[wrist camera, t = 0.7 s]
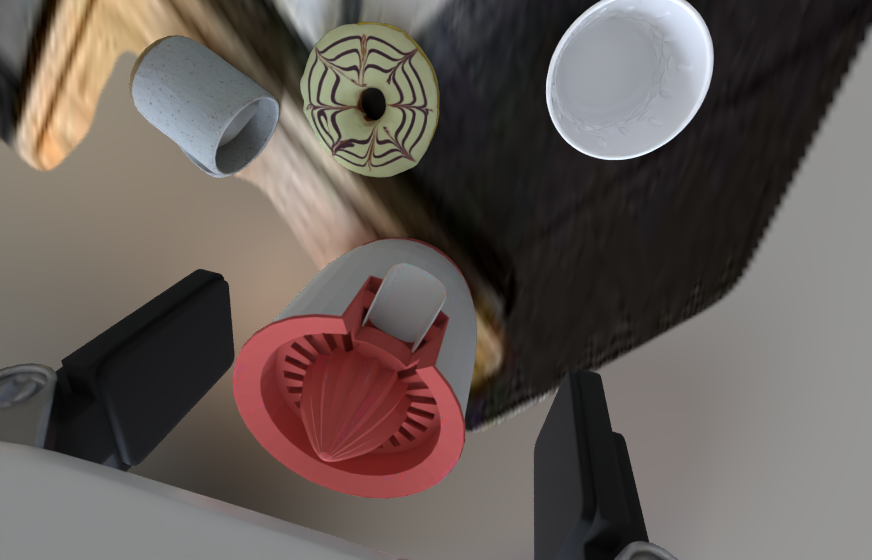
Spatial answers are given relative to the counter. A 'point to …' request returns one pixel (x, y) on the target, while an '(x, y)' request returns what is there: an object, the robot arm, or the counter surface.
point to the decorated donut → (343, 89)
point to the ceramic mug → (203, 104)
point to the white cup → (629, 76)
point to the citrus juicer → (366, 372)
